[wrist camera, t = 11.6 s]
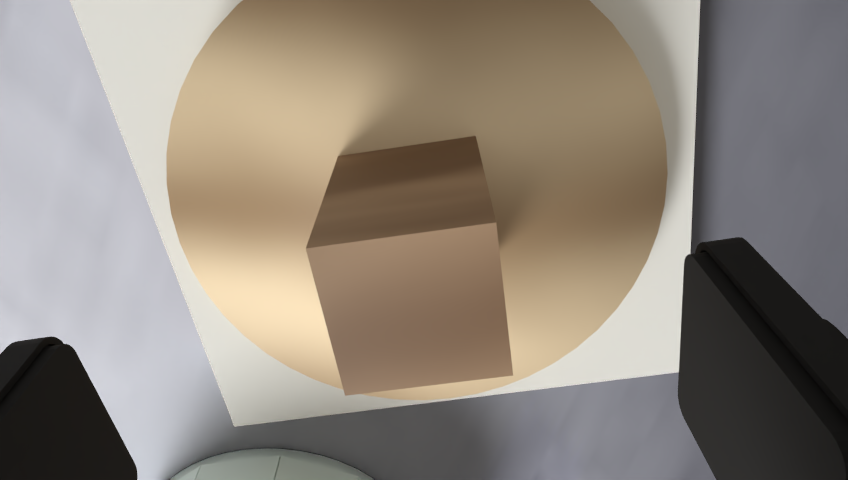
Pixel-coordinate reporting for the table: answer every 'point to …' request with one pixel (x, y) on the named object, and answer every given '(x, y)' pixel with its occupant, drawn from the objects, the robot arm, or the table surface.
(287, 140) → the lid
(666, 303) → the mat
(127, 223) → the table surface
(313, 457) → the bowl
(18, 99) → the table surface
